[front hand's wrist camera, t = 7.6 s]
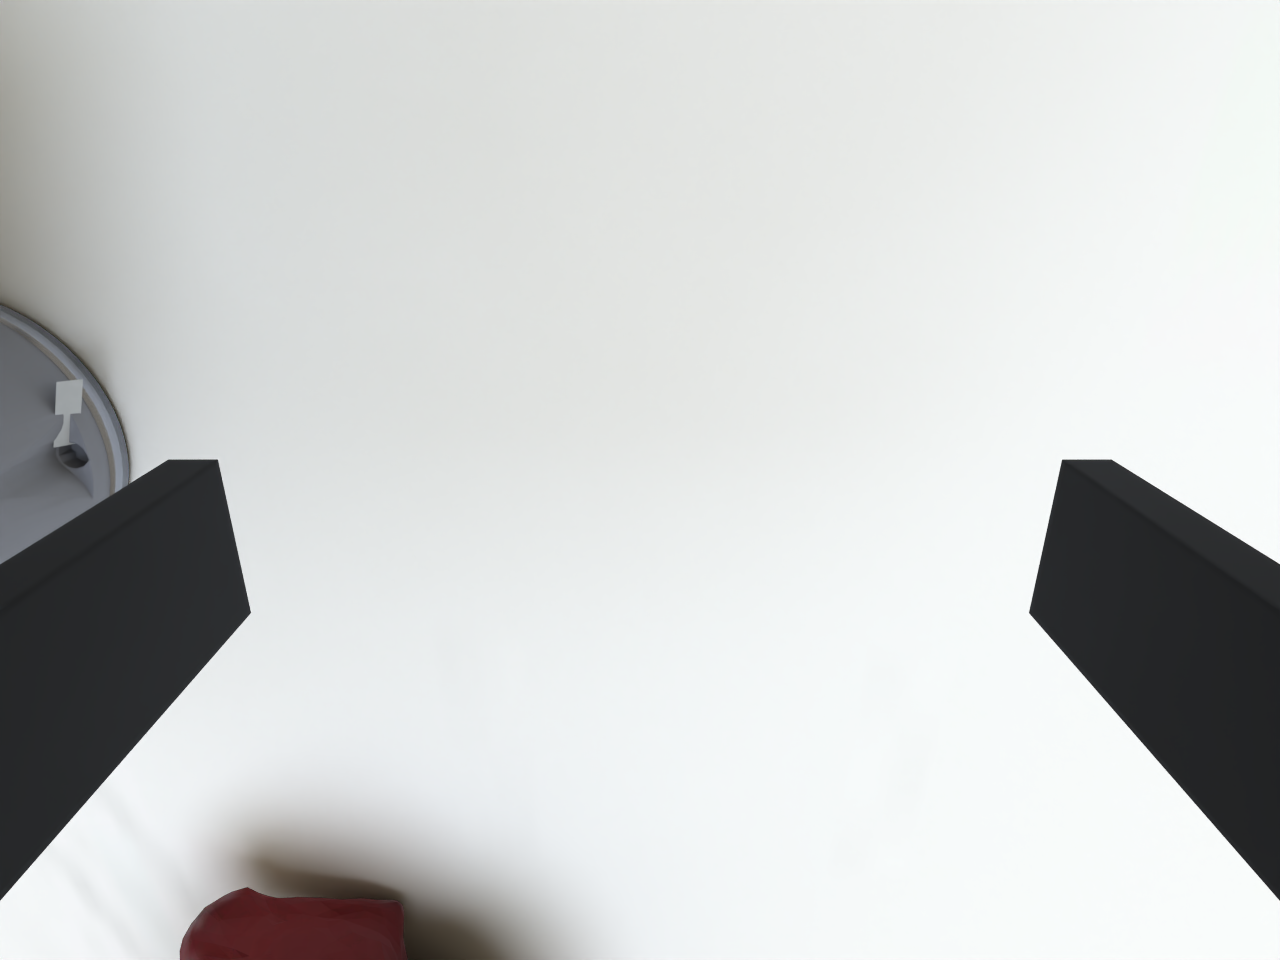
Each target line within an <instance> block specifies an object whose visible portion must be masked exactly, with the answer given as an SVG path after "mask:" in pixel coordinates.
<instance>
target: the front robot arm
mask: <svg viewBox="0 0 1280 960" xmlns="http://www.w3.org/2000/svg"><path fill="white" fill-rule="evenodd" d="M128 481H129V462H128V452H127V448H126V443H125V438H124V435H123V432H122V429H121V425H120V423H119V421H118V418H117V416H116V413H115V411H114V409H113V407H112V405H111V403H110V401H109V399H108V398H107V396H106V394H105V393H104V391H103V390H102V388H101V386H100V385H99V383H98V382H97V381H96V379H95V378H94V377H93V375H92V374H91V373H90V371H89V370H88V369H87V368H86V367H85V366H84V364H83V363H82V362H81V361H80V360H79V359H78V358H77V357H76V356H75V355H74V354H73V353H72V352H71V351H70V350H69V349H68V348H67V347H66V346H65V345H64V344H62V343H61V342H60V341H59V340H58V339H57V338H55V337H54V336H53V335H52V334H50V333H49V332H48V331H46V330H45V329H43V328H42V327H41V326H39V325H38V324H36V323H34V322H33V321H31V320H30V319H28V318H26V317H25V316H23V315H21V314H19V313H17V312H15V311H13V310H11V309H9V308H7V307H5V306H3V305H0V900H1V899H2V898H3V897H4V896H5V894H6V893H7V892H8V891H9V890H10V889H11V888H12V886H13V885H14V884H15V883H16V882H17V881H18V880H19V878H20V877H21V876H22V875H23V874H24V873H25V872H26V870H27V869H28V868H29V867H30V866H31V865H32V863H33V862H34V861H35V860H36V859H37V858H38V857H39V855H40V854H41V853H42V852H43V851H44V850H45V849H46V847H47V846H48V845H49V844H50V843H51V842H52V841H53V839H54V838H55V837H56V836H57V835H58V834H59V833H60V831H61V830H62V829H63V828H64V827H65V826H66V824H67V823H68V822H69V821H70V820H71V819H72V818H73V816H74V815H75V814H76V813H77V812H78V811H79V810H80V808H81V807H82V806H83V805H84V804H85V803H86V802H87V800H88V799H89V798H90V797H91V796H92V795H93V794H94V792H95V791H96V790H97V789H98V788H99V787H100V785H101V784H102V783H103V782H104V781H105V780H106V779H107V777H108V776H109V775H110V774H111V773H112V772H113V771H114V769H115V768H116V767H117V766H118V765H119V764H120V763H121V761H122V760H123V759H124V758H125V757H126V756H127V754H128V753H129V752H130V751H131V750H132V749H133V748H134V746H135V745H136V744H137V743H138V742H139V741H140V740H141V738H142V737H143V736H144V735H145V734H146V733H147V732H148V730H149V729H150V728H151V727H152V726H153V725H154V724H155V722H156V721H157V720H158V719H159V718H160V717H161V715H162V714H163V713H164V712H165V711H166V710H167V709H168V707H169V706H170V705H171V704H172V703H173V702H174V701H175V699H176V698H177V697H178V696H179V695H180V694H181V693H182V691H183V690H184V689H185V688H186V687H187V686H188V684H189V683H190V682H191V681H192V680H193V679H194V678H195V676H196V675H197V674H198V673H199V672H200V671H201V670H202V668H203V667H204V666H205V665H206V664H207V663H208V662H209V660H210V659H211V658H212V657H213V656H214V655H215V654H216V652H217V651H218V650H219V649H220V648H221V647H222V645H223V644H224V643H225V642H226V641H227V640H228V639H229V637H230V636H231V635H232V634H233V633H234V632H235V631H236V629H237V628H238V627H239V626H240V625H241V624H242V623H243V621H244V620H245V619H246V618H247V617H248V616H249V615H250V613H251V611H250V606H249V602H248V597H247V593H246V588H245V583H244V579H243V574H242V569H241V565H240V560H239V556H238V551H237V546H236V542H235V537H234V532H233V528H232V523H231V519H230V514H229V509H228V505H227V500H226V495H225V491H224V486H223V482H222V477H221V472H220V468H219V463H218V460H167V461H166V462H164V463H162V464H161V465H159V466H158V467H156V468H154V469H153V470H151V471H149V472H148V473H146V474H145V475H143V476H141V477H140V478H138V479H137V480H135V481H133V482H132V483H130V484H129V485H128ZM1029 613H1030V615H1031V616H1032V617H1033V618H1034V619H1035V620H1036V621H1037V623H1038V624H1039V625H1040V626H1041V627H1042V628H1043V629H1044V631H1045V632H1046V633H1047V634H1048V635H1049V636H1050V637H1051V639H1052V640H1053V641H1054V642H1055V643H1056V644H1057V645H1058V647H1059V648H1060V649H1061V650H1062V651H1063V652H1064V654H1065V655H1066V656H1067V657H1068V658H1069V659H1070V660H1071V662H1072V663H1073V664H1074V665H1075V666H1076V667H1077V668H1078V670H1079V671H1080V672H1081V673H1082V674H1083V675H1084V676H1085V678H1086V679H1087V680H1088V681H1089V682H1090V683H1091V684H1092V686H1093V687H1094V688H1095V689H1096V690H1097V691H1098V693H1099V694H1100V695H1101V696H1102V697H1103V698H1104V699H1105V701H1106V702H1107V703H1108V704H1109V705H1110V706H1111V707H1112V709H1113V710H1114V711H1115V712H1116V713H1117V714H1118V715H1119V717H1120V718H1121V719H1122V720H1123V721H1124V722H1125V724H1126V725H1127V726H1128V727H1129V728H1130V729H1131V730H1132V732H1133V733H1134V734H1135V735H1136V736H1137V737H1138V738H1139V740H1140V741H1141V742H1142V743H1143V744H1144V745H1145V746H1146V748H1147V749H1148V750H1149V751H1150V752H1151V753H1152V754H1153V756H1154V757H1155V758H1156V759H1157V760H1158V761H1159V763H1160V764H1161V765H1162V766H1163V767H1164V768H1165V769H1166V771H1167V772H1168V773H1169V774H1170V775H1171V776H1172V777H1173V779H1174V780H1175V781H1176V782H1177V783H1178V784H1179V785H1180V787H1181V788H1182V789H1183V790H1184V791H1185V792H1186V794H1187V795H1188V796H1189V797H1190V798H1191V799H1192V800H1193V802H1194V803H1195V804H1196V805H1197V806H1198V807H1199V808H1200V810H1201V811H1202V812H1203V813H1204V814H1205V815H1206V816H1207V818H1208V819H1209V820H1210V821H1211V822H1212V823H1213V824H1214V826H1215V827H1216V828H1217V829H1218V830H1219V831H1220V833H1221V834H1222V835H1223V836H1224V837H1225V838H1226V839H1227V841H1228V842H1229V843H1230V844H1231V845H1232V846H1233V847H1234V849H1235V850H1236V851H1237V852H1238V853H1239V854H1240V855H1241V857H1242V858H1243V859H1244V860H1245V861H1246V862H1247V863H1248V865H1249V866H1250V867H1251V868H1252V869H1253V870H1254V872H1255V873H1256V874H1257V875H1258V876H1259V877H1260V878H1261V880H1262V881H1263V882H1264V883H1265V884H1266V885H1267V886H1268V888H1269V889H1270V890H1271V891H1272V892H1273V893H1274V894H1275V896H1276V897H1277V898H1278V899H1279V900H1280V564H1278V563H1277V562H1275V561H1274V560H1272V559H1270V558H1269V557H1267V556H1266V555H1264V554H1262V553H1261V552H1259V551H1258V550H1256V549H1254V548H1253V547H1251V546H1250V545H1248V544H1246V543H1245V542H1243V541H1241V540H1240V539H1238V538H1237V537H1235V536H1233V535H1232V534H1230V533H1229V532H1227V531H1225V530H1224V529H1222V528H1221V527H1219V526H1217V525H1216V524H1214V523H1213V522H1211V521H1209V520H1208V519H1206V518H1204V517H1203V516H1201V515H1200V514H1198V513H1196V512H1195V511H1193V510H1192V509H1190V508H1188V507H1187V506H1185V505H1184V504H1182V503H1180V502H1179V501H1177V500H1176V499H1174V498H1172V497H1171V496H1169V495H1167V494H1166V493H1164V492H1163V491H1161V490H1159V489H1158V488H1156V487H1155V486H1153V485H1151V484H1150V483H1148V482H1147V481H1145V480H1143V479H1142V478H1140V477H1139V476H1137V475H1135V474H1134V473H1132V472H1131V471H1129V470H1127V469H1126V468H1124V467H1122V466H1121V465H1119V464H1118V463H1116V462H1114V461H1113V460H1062V463H1061V468H1060V472H1059V477H1058V482H1057V486H1056V491H1055V495H1054V500H1053V505H1052V509H1051V514H1050V519H1049V523H1048V528H1047V532H1046V537H1045V542H1044V546H1043V551H1042V556H1041V560H1040V565H1039V569H1038V574H1037V579H1036V583H1035V588H1034V593H1033V597H1032V602H1031V606H1030V611H1029Z"/></svg>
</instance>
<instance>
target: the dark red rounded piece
mask: <svg viewBox="0 0 1280 960" xmlns="http://www.w3.org/2000/svg"><path fill="white" fill-rule="evenodd" d="M403 934H404V908H403V905H402V904H401V903H400V902H398V901H396V900H375V899H364V898H358V899H331V898H312V897H292V898H275V897H269V896H266V895H263V894H260V893H258V892H256V891H254V890H252V889H250V888H248V887H247V888H243V889H240V890H237V891H233V892H231V893H229V894H227V895H225V896H223V897H221V898H220V899H218V900H216V901H215V902H213V903H212V904H210V905H208V906H207V907H205V908H204V909H203V910H202V912H201V913H200V914H199V915H198V916H197V918H196V919H195V920H194V921H193V922H192V924H191V925H190V927H189V929H188V931H187V932H186V934H185V936H184V938H183V940H182V944H181V948H180V960H408V958H407V953H406V949H405V944H404V940H403Z"/></svg>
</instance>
